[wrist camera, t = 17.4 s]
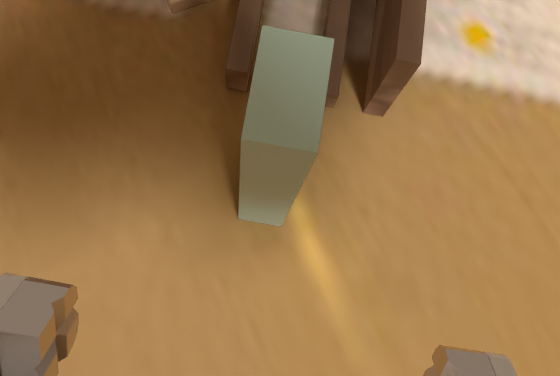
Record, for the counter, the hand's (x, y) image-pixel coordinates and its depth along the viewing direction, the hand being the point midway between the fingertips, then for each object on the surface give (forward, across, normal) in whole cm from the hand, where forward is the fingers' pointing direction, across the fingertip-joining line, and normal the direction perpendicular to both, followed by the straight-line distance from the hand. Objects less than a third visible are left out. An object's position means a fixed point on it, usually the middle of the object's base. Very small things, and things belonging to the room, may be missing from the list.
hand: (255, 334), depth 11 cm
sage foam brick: (+22, 0, +9) cm, 24 cm away
